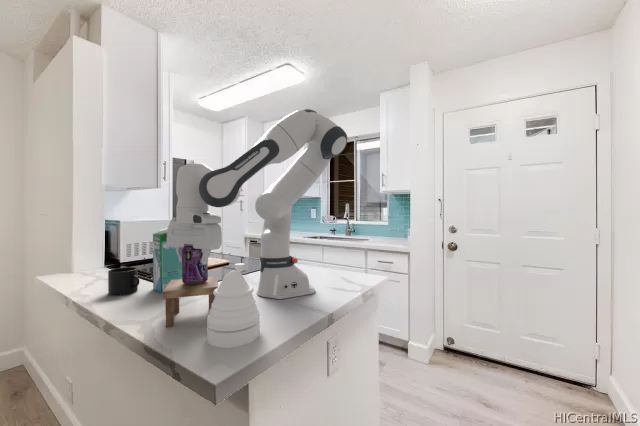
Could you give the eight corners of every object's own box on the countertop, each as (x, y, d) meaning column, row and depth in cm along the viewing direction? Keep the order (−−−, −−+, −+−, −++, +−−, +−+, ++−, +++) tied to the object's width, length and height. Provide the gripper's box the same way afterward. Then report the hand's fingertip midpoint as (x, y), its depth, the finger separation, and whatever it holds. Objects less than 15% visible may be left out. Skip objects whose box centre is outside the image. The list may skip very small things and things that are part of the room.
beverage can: (191, 287, 81) (190, 245, 81) (177, 283, 85) (177, 243, 84) (212, 282, 87) (212, 243, 86) (198, 279, 90) (198, 241, 90)
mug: (128, 297, 104) (128, 272, 104) (101, 295, 107) (101, 271, 107) (148, 290, 114) (148, 267, 114) (123, 288, 116) (123, 266, 116)
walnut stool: (218, 306, 94) (217, 276, 94) (217, 321, 81) (217, 286, 81) (171, 311, 90) (171, 279, 90) (162, 328, 76) (162, 291, 76)
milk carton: (153, 289, 115) (152, 228, 115) (176, 284, 122) (176, 227, 121) (160, 293, 109) (160, 229, 109) (185, 288, 116) (184, 227, 115)
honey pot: (237, 321, 81) (237, 259, 81) (270, 332, 74) (269, 264, 74) (196, 338, 70) (195, 266, 70) (229, 353, 63) (228, 273, 63)
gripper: (160, 217, 87) (161, 262, 87) (208, 217, 78) (208, 267, 78) (179, 216, 93) (179, 258, 93) (225, 217, 83) (225, 263, 84)
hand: (193, 263), depth 85 cm, fingers open, 8 cm apart
